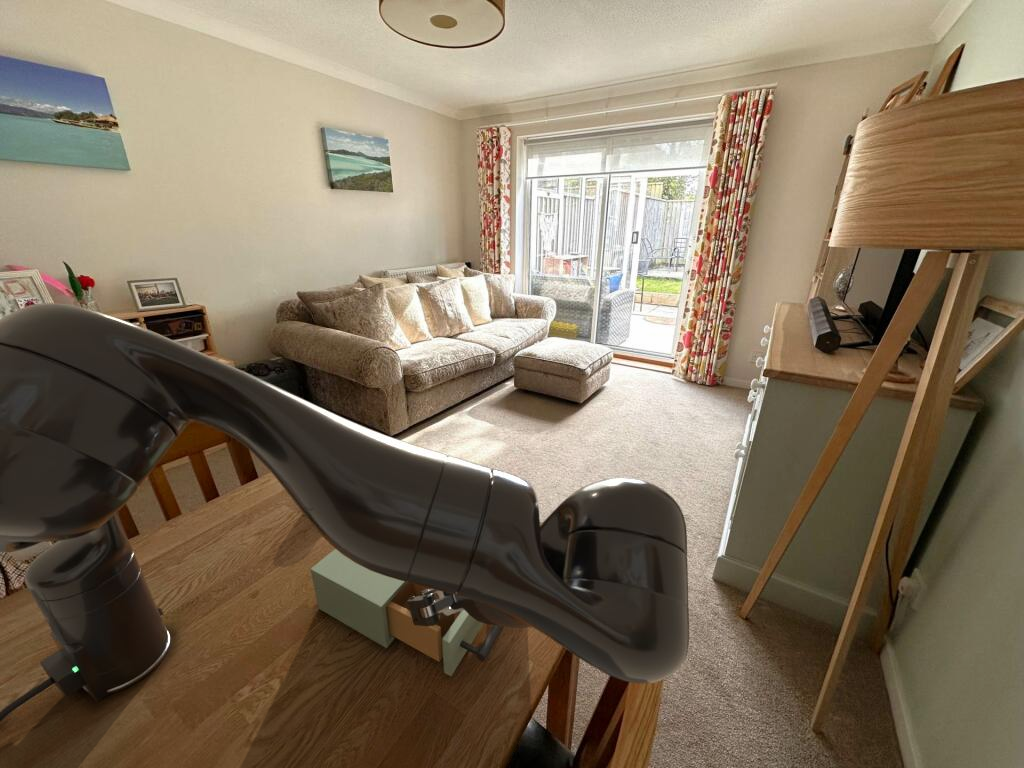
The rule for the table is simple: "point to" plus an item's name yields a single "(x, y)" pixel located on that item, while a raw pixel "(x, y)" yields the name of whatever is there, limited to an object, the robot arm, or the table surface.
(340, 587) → the cabinet
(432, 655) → the drawer
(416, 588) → the tall cardboard box
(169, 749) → the table surface
